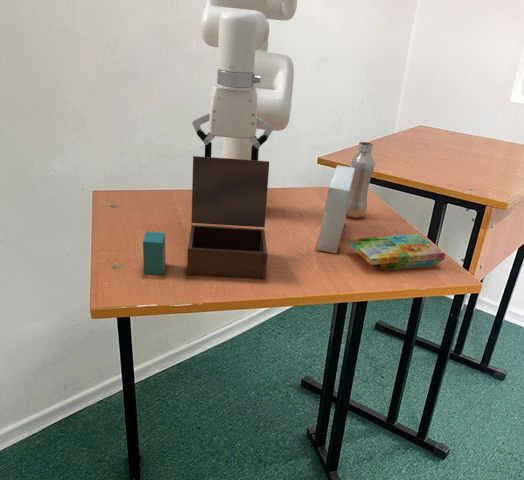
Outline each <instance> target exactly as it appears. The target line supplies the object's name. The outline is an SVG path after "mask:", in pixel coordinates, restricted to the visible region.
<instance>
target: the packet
mask: <svg viewBox="0 0 524 480" xmlns="http://www.w3.org/2000/svg"><path fill="white" fill-rule="evenodd" d="M142 256H143V257H142V259H143V260H142V261H143V274H144V275H156V276H163V275H164V274H165V273H164V272H165V268H166V232H158V231H157V232H156V231H146V232H145V233H144V237H143V240H142Z"/></svg>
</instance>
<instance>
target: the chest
mask: <svg viewBox="0 0 524 480" xmlns="http://www.w3.org/2000/svg"><path fill="white" fill-rule="evenodd" d="M265 231H266V230H265V229H264V228H254V227H237V226H221V225H204V224H203V225H202V224H200V225H199V224H191V225H190V231H189V238H188V245H187V276H193V277H195V276H198V277H215V278H232V279H233V278H234V279H252V280H266V276H267V275H266V274H267V264H268V246H267V241H266V240H267V238H266V232H265Z"/></svg>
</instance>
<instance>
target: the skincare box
mask: <svg viewBox="0 0 524 480" xmlns="http://www.w3.org/2000/svg"><path fill="white" fill-rule="evenodd" d="M354 172H355V168H352V167H350V166H345V165H341V164H340V165H339V164H337V165H336V167H335V170H334V173H333V175H332V177H331V180H330V183H329V186H328V188H327V194H326V199H325V205H324V209H323V210H324V211H323V217H322V222H321V227H320V233H319V238H318V243H317V247H316V250H317V251H321V252H326V253H333V254H338V251H339V250H338V249H339V246H340V241H341V238H342V234H343V230H344V226H345V223H346V218H347V215H346V214H347V209H348V204H349V199H350V194H351V189H352V184H353V178H354Z"/></svg>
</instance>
